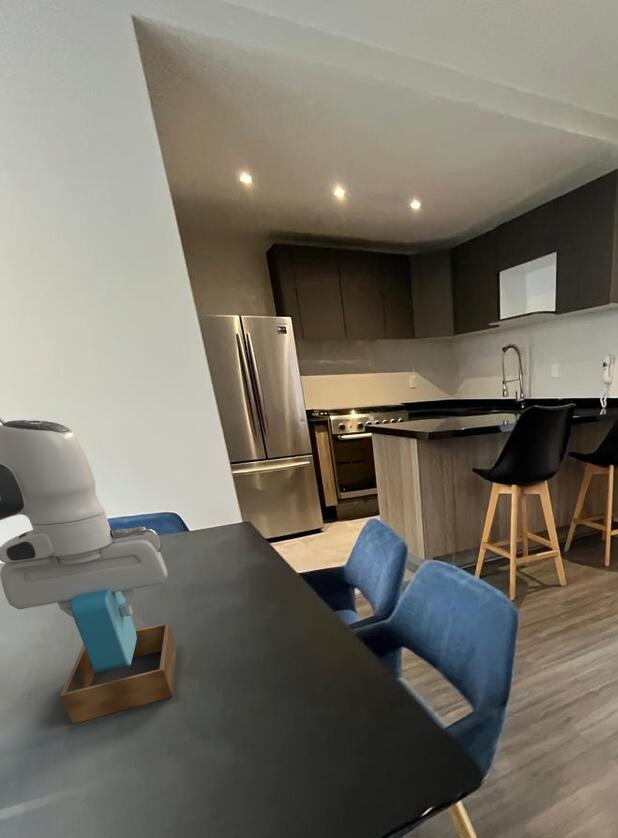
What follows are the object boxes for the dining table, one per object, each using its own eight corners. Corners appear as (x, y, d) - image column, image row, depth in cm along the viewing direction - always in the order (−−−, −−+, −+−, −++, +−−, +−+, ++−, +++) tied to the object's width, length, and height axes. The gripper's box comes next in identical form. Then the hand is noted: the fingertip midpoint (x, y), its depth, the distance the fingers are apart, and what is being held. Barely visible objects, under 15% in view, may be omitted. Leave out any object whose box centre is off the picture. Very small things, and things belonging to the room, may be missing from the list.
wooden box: (72, 724, 72) (59, 696, 70) (94, 665, 87) (84, 641, 85) (172, 696, 77) (163, 669, 75) (176, 646, 92) (169, 622, 90)
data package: (107, 643, 84) (84, 578, 80) (137, 636, 86) (116, 573, 81) (96, 677, 74) (68, 606, 70) (130, 669, 76) (105, 599, 71)
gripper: (156, 520, 79) (179, 598, 84) (-3, 541, 71) (33, 626, 76) (154, 529, 74) (177, 612, 79) (-19, 554, 66) (20, 644, 71)
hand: (105, 619), depth 78 cm, fingers closed on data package, 4 cm apart
